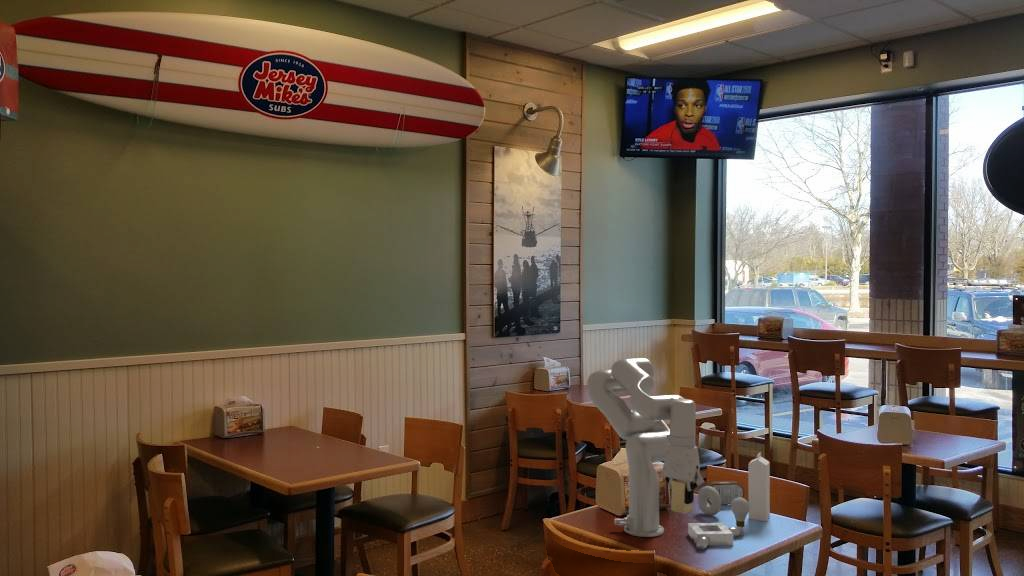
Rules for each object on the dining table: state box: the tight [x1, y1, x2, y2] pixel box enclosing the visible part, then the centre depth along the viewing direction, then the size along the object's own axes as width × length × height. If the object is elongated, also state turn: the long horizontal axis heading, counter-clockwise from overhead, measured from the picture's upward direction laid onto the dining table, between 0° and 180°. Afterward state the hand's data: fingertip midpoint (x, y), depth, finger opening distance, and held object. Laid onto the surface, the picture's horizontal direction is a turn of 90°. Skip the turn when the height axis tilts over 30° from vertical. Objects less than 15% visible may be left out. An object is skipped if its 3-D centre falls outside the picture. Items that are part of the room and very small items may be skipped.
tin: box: [705, 480, 745, 506], centre depth 287 cm, size 15×3×8 cm, turn 98°
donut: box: [696, 485, 722, 517], centre depth 274 cm, size 10×4×10 cm, turn 31°
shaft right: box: [727, 526, 745, 538], centre depth 250 cm, size 6×3×3 cm, turn 107°
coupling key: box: [670, 479, 693, 515], centre depth 238 cm, size 4×4×9 cm
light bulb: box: [730, 497, 750, 529], centre depth 259 cm, size 6×6×10 cm
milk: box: [747, 452, 771, 522], centre depth 270 cm, size 6×6×22 cm
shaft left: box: [695, 536, 711, 551], centre depth 241 cm, size 6×3×3 cm, turn 152°
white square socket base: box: [687, 522, 734, 546], centre depth 248 cm, size 11×11×4 cm
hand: (681, 500), depth 238 cm, fingers closed on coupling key, 4 cm apart
